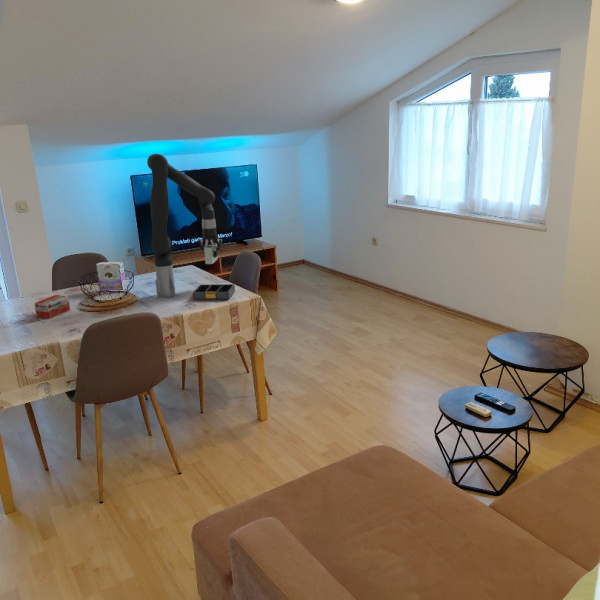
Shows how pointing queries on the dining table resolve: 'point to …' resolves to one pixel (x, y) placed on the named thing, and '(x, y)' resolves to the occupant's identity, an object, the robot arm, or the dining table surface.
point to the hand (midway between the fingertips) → (211, 257)
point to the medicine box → (52, 306)
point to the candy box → (111, 276)
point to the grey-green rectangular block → (209, 254)
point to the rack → (214, 292)
